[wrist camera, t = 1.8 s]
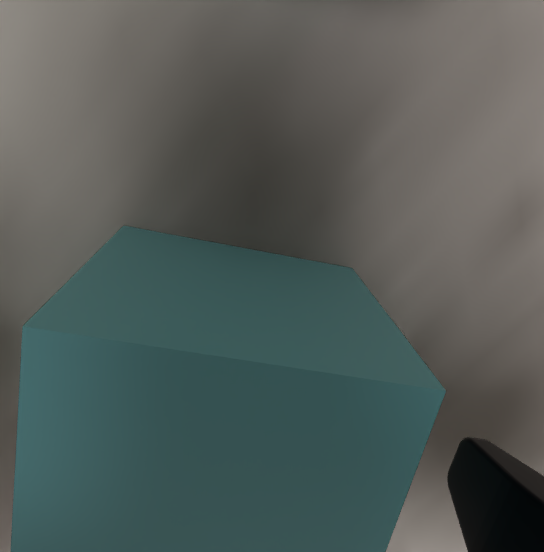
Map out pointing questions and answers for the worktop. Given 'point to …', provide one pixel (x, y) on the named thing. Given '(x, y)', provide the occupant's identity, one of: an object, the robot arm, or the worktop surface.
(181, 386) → the teal block
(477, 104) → the worktop surface
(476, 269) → the worktop surface
